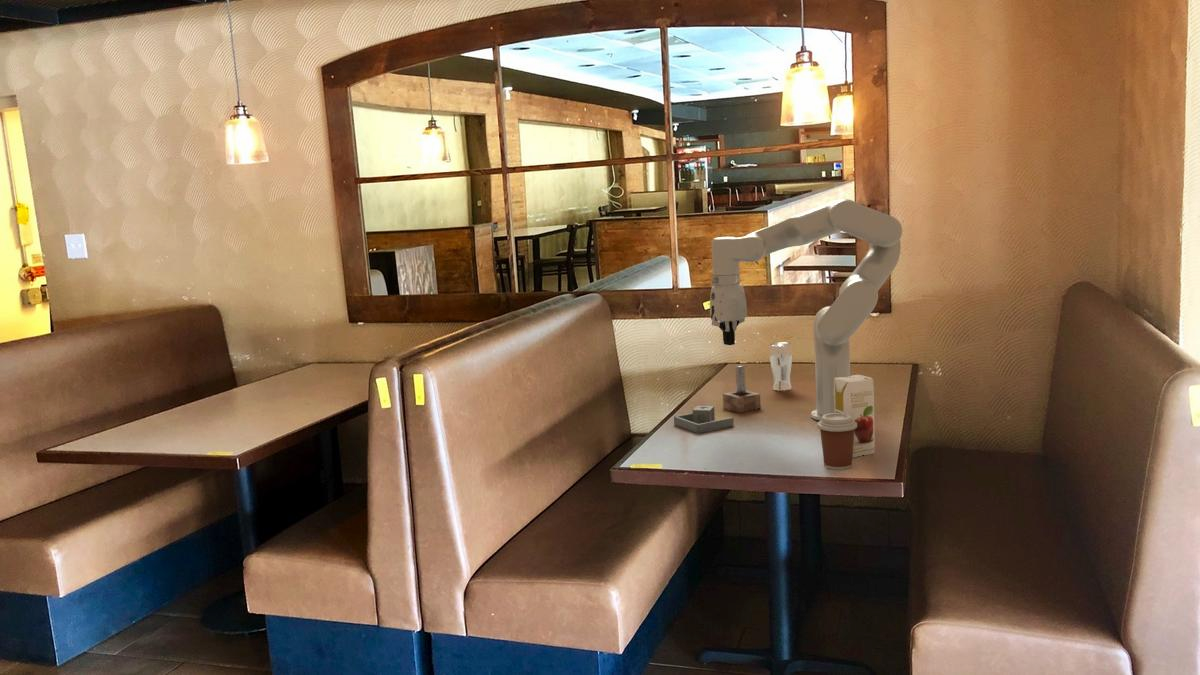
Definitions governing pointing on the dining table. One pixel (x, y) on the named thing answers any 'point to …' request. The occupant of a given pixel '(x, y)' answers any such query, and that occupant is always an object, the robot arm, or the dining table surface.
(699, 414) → the dice cube
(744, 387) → the steel pin
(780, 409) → the dining table surface
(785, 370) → the beer glass
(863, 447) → the juice carton
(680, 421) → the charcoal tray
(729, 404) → the walnut block
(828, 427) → the coffee cup
